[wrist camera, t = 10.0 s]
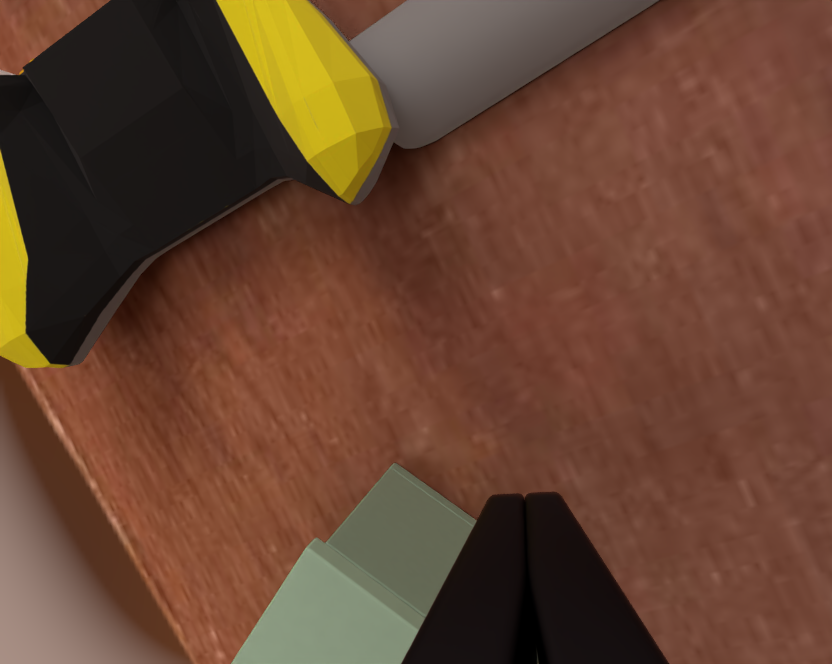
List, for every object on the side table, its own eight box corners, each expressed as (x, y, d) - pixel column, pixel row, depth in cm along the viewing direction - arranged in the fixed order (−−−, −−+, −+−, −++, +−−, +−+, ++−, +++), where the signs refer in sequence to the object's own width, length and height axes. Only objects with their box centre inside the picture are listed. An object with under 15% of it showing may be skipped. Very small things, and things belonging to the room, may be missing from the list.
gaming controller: (446, 178, 23) (307, -100, 22) (402, 163, 17) (220, -200, 17) (108, 367, 27) (-11, 135, 27) (-10, 401, 22) (-159, 113, 21)
